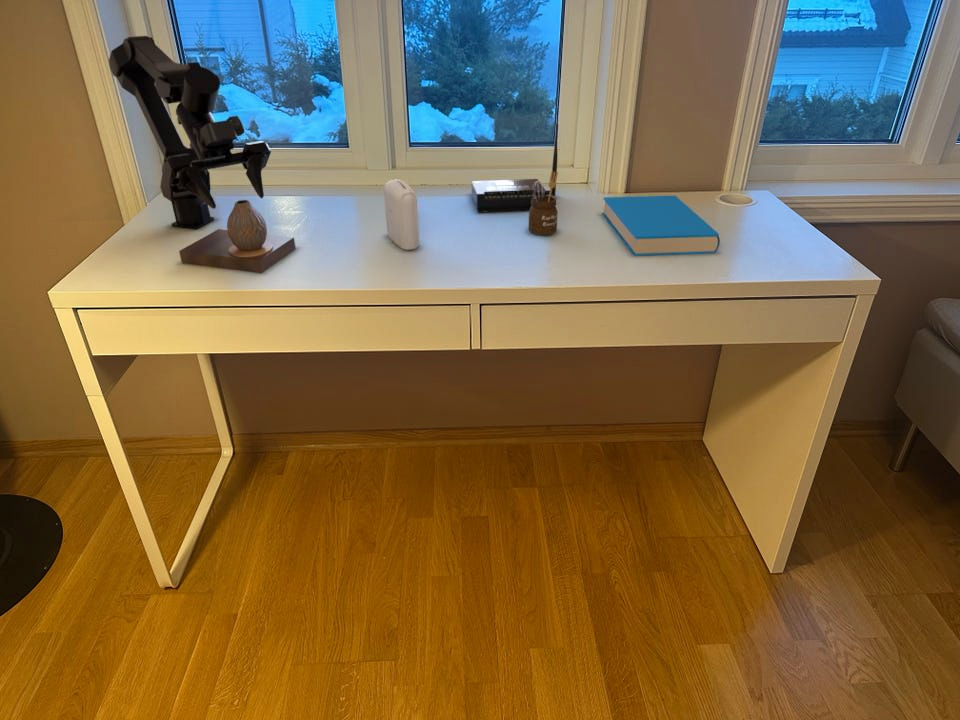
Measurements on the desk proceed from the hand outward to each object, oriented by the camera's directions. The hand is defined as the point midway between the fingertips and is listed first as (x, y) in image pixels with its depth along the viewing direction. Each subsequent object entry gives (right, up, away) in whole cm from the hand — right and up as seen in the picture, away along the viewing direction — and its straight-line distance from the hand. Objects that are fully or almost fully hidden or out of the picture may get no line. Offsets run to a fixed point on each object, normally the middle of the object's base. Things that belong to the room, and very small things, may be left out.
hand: (239, 202), depth 124 cm
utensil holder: (+57, -2, +19) cm, 60 cm away
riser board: (-2, -9, +7) cm, 11 cm away
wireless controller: (+53, +8, +36) cm, 65 cm away
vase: (+1, -8, +3) cm, 9 cm away
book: (+81, -2, +19) cm, 83 cm away
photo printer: (+28, -5, +14) cm, 32 cm away
